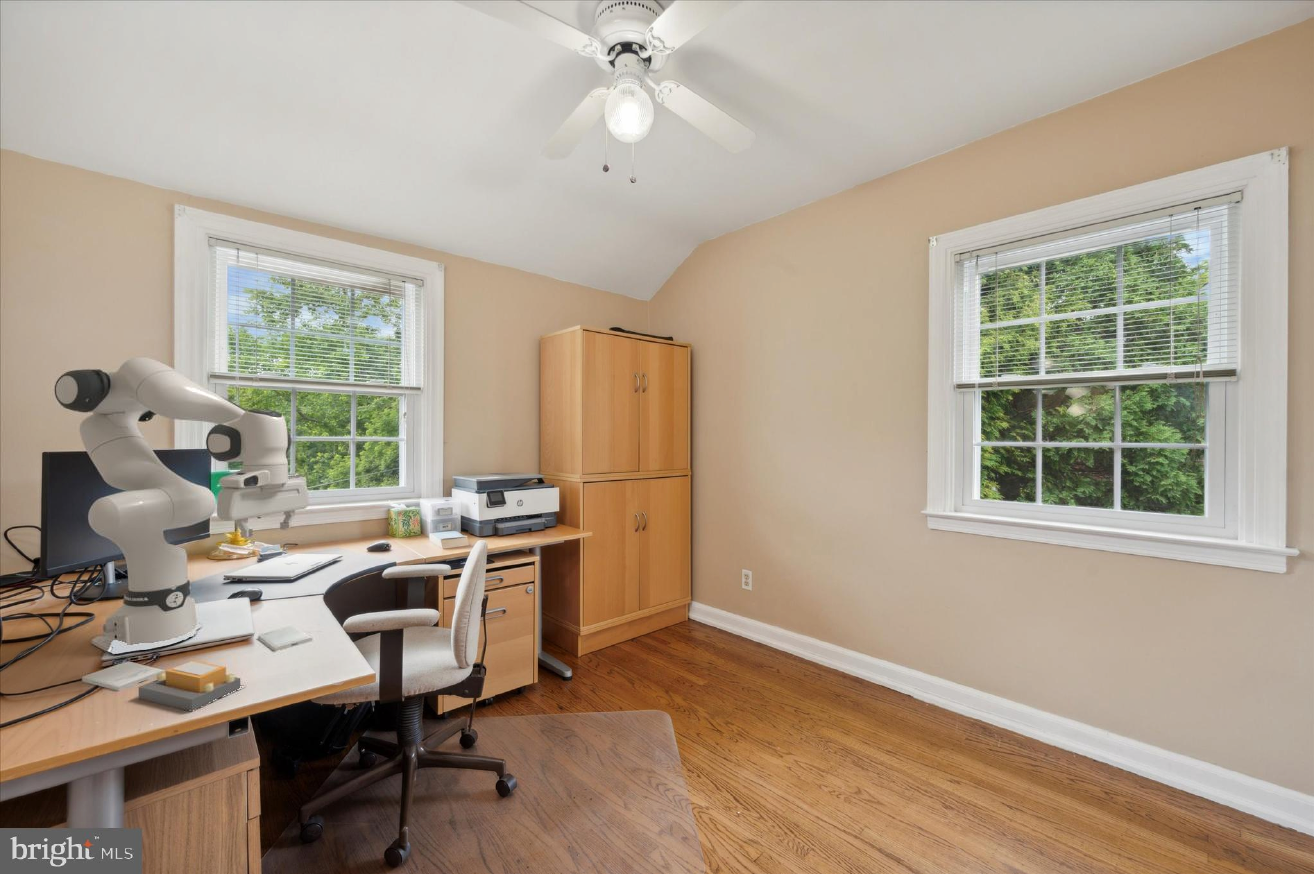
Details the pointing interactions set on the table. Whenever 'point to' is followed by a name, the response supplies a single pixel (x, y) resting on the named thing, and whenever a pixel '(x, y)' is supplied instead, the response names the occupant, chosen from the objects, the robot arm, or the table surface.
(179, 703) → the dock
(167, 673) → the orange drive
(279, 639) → the hard drive
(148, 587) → the robot arm
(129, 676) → the external hard drive
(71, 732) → the table surface
